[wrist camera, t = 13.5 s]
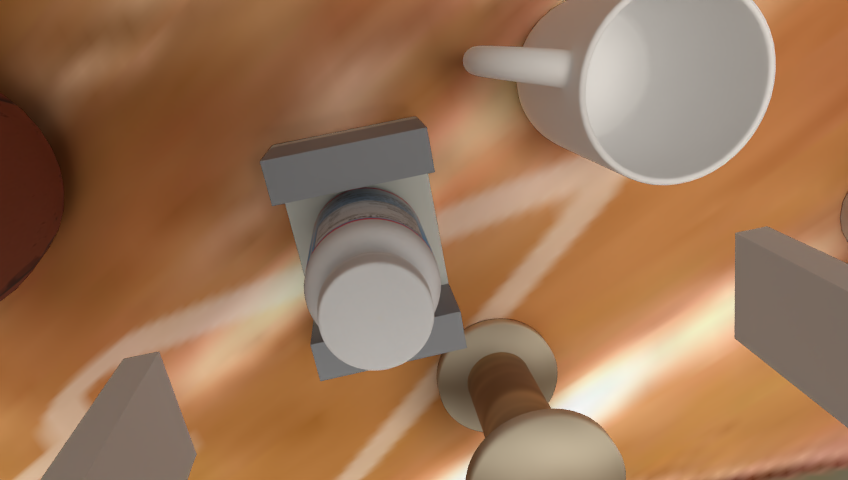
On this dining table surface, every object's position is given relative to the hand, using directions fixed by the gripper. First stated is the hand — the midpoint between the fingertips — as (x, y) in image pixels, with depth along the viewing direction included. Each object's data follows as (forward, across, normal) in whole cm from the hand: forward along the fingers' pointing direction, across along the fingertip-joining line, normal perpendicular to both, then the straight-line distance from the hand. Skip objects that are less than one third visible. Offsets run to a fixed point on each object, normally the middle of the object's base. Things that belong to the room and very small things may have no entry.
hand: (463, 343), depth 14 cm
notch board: (+22, -2, -4) cm, 22 cm away
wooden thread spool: (+21, +4, -15) cm, 26 cm away
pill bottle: (+21, -2, -4) cm, 21 cm away
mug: (+22, +10, +3) cm, 24 cm away
